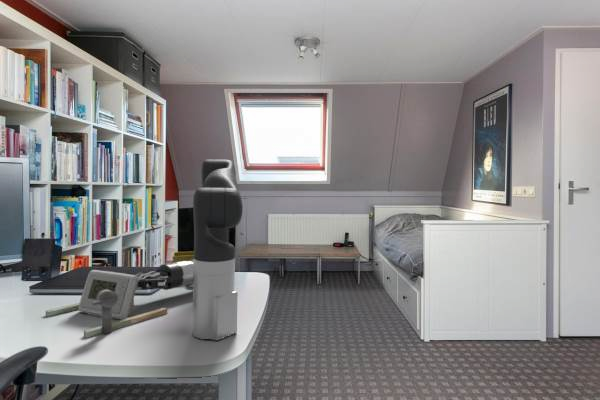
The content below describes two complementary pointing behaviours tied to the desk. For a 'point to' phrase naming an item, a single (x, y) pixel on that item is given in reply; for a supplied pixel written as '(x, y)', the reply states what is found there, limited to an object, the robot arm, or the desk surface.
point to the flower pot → (183, 256)
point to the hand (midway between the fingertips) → (121, 286)
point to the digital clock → (114, 282)
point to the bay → (107, 314)
